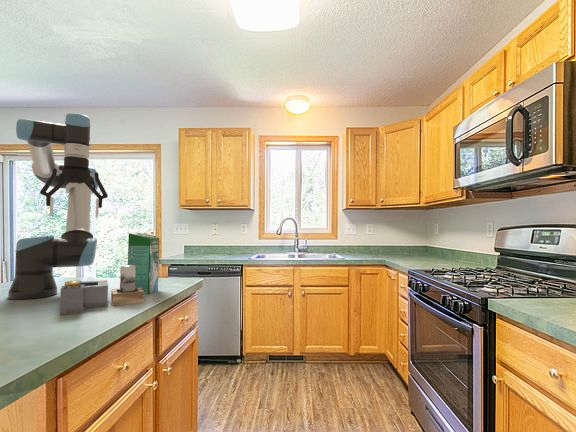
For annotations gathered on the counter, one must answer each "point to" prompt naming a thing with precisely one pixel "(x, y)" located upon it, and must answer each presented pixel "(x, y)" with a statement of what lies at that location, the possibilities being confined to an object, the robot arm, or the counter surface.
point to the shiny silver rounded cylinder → (127, 278)
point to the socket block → (83, 297)
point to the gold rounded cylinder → (72, 284)
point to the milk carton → (144, 260)
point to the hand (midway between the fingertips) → (74, 216)
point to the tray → (127, 297)
